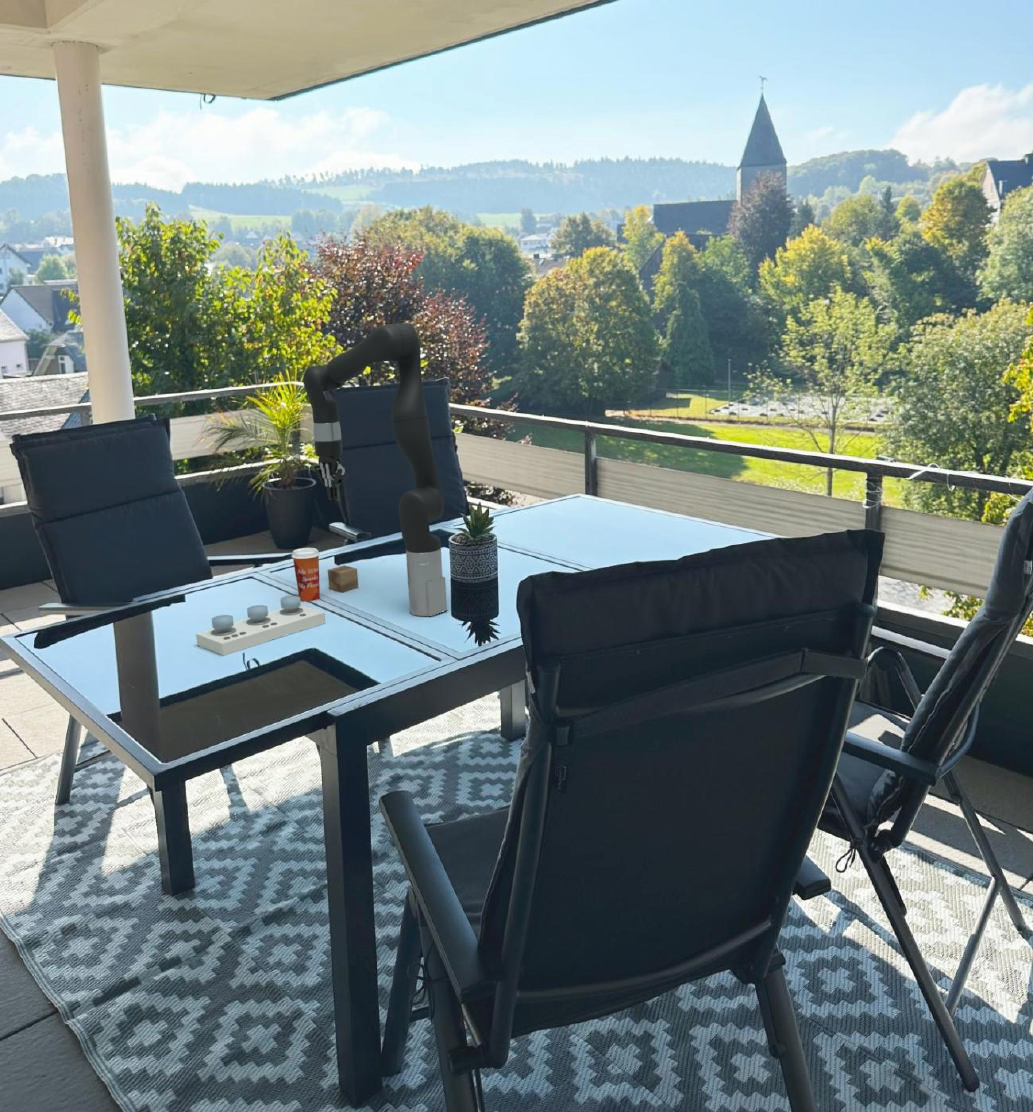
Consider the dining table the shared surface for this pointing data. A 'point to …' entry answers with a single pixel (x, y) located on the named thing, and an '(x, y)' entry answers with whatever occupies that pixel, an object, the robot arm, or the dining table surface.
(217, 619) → the three-dot button
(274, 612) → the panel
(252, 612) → the two-dot button
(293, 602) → the one-dot button
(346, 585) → the walnut block
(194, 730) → the dining table surface
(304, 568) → the paper cup
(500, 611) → the dining table surface
